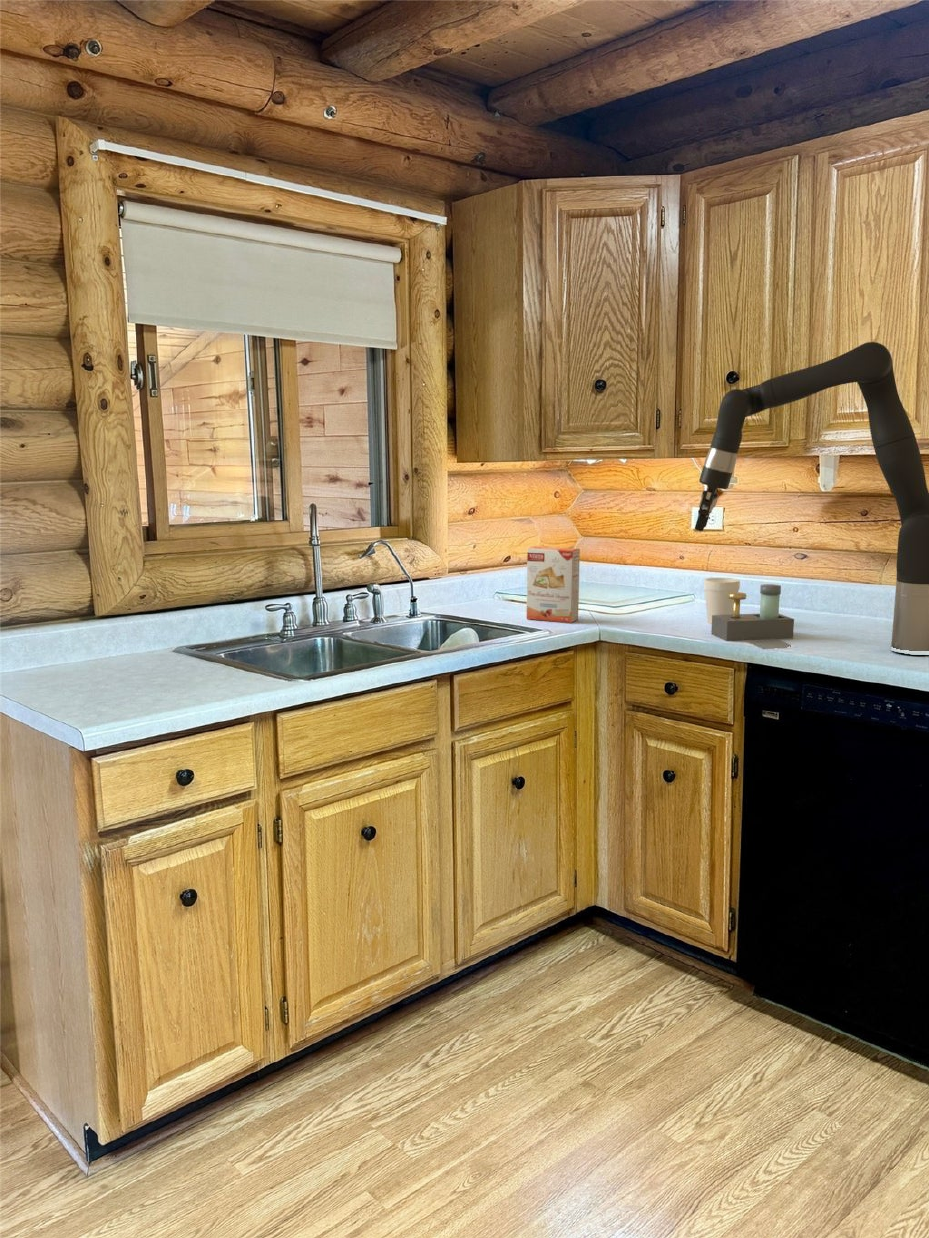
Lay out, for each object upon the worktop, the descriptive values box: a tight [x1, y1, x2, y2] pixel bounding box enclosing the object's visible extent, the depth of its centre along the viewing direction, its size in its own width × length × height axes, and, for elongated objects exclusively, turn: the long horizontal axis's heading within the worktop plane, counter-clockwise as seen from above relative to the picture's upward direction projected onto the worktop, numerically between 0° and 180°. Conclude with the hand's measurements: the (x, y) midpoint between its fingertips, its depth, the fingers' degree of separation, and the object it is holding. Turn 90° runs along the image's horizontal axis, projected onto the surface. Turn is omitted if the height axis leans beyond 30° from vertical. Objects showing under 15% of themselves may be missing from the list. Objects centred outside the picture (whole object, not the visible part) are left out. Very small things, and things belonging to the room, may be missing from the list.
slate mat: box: [745, 639, 792, 650], centre depth 236 cm, size 9×9×1 cm
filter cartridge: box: [759, 583, 782, 619], centre depth 246 cm, size 5×5×13 cm
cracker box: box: [526, 545, 581, 624], centre depth 273 cm, size 14×6×21 cm, turn 62°
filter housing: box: [710, 613, 795, 642], centre depth 246 cm, size 18×9×6 cm, turn 100°
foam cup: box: [703, 577, 741, 625], centre depth 264 cm, size 10×9×13 cm
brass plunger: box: [728, 591, 747, 619], centre depth 244 cm, size 4×4×9 cm
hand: (700, 528), depth 250 cm, fingers open, 8 cm apart
